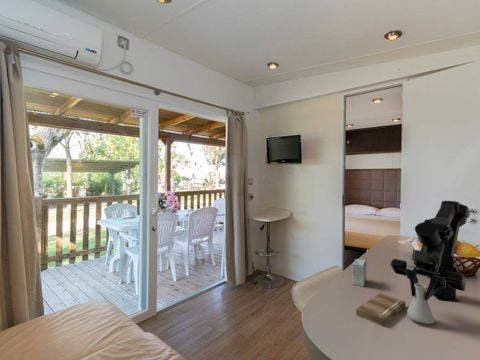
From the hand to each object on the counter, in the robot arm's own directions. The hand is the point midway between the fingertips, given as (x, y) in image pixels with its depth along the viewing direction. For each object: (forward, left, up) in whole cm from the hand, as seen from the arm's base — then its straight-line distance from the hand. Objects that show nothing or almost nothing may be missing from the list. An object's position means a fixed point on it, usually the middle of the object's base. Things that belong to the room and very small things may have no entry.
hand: (419, 297), depth 78 cm
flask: (-1, -1, -7) cm, 7 cm away
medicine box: (+10, -28, -8) cm, 31 cm away
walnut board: (+9, -5, -7) cm, 13 cm away
